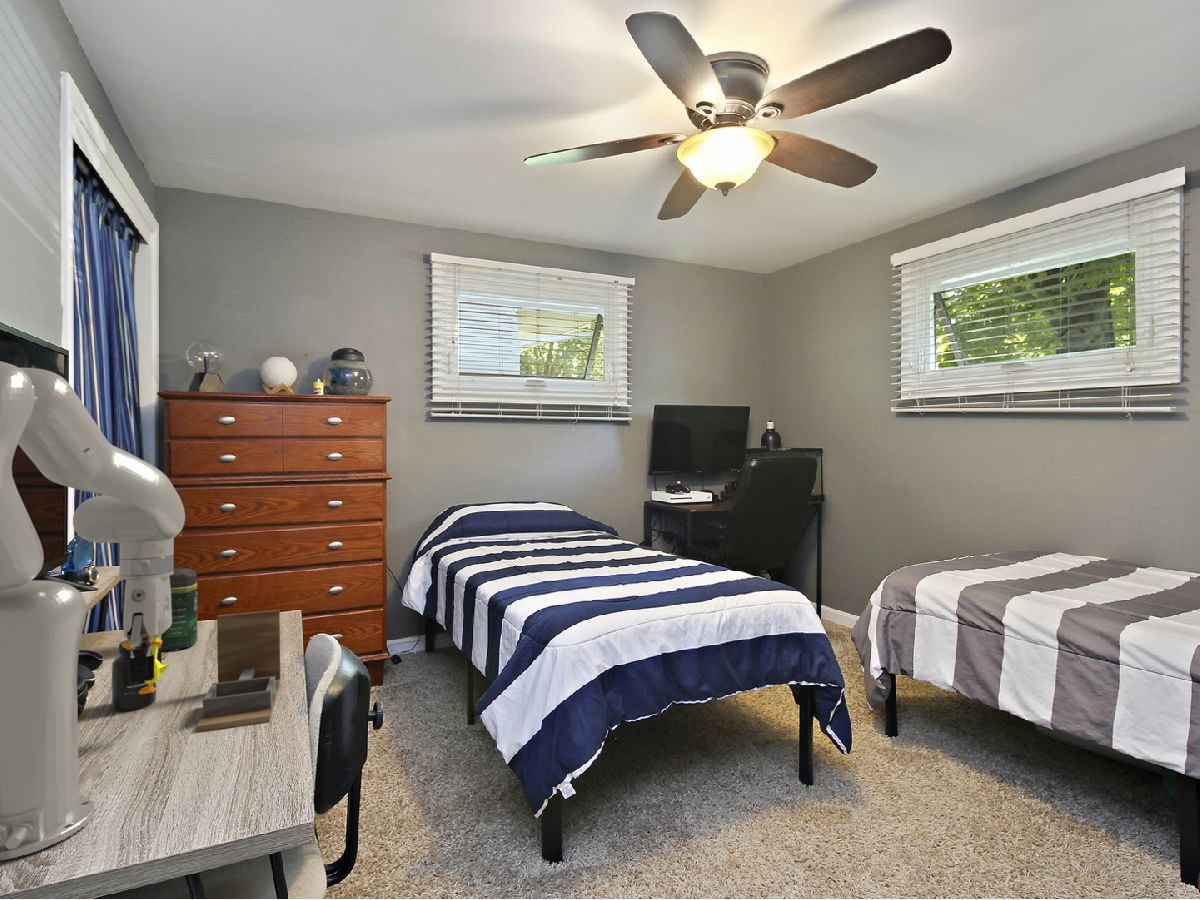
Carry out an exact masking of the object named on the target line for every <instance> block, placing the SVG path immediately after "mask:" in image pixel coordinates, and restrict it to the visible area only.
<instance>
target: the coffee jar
mask: <svg viewBox="0 0 1200 900" xmlns="http://www.w3.org/2000/svg"><path fill="white" fill-rule="evenodd" d="M173 571H174V574H172V575H169V578H170V587H171V607H172V625H171V626H170V627H169V628H168V629H167V630H166V631H165V632H164V633H163V634H161V640H162V644H161V648H162V650H161V651H163V650H164V651H170V650H172V651H177V650H176V649H180V650H181V649H185V648H189V647H188V646H191V647H193V646H194V645H195V644H196V642H197V641H198V573H197V572H196V571H195V570H193V569H192V568H186V567H183V568H174V570H173ZM193 644H194V645H193ZM192 645H193V646H192Z"/></svg>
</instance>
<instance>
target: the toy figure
mask: <svg viewBox="0 0 1200 900" xmlns="http://www.w3.org/2000/svg"><path fill="white" fill-rule="evenodd" d="M148 636H149V634H144V637H148ZM144 642H145V643H146V644H147V641H143V642H142V643H144ZM161 644H162V640H160V639H159V637H156V638H155V637H154V635H153V646H152V655H154V678H153V679H152V680H149V681H145V683H146V684H148V687H144V688H142V689H141V690H140V691H139V694H146V693H152V692H154V691H155V690H156V691H157V688H156V689H155V688H154V687H153V683H155V682H156V683H157V682H159V679H160V678H161V677H162V676H163V674H164V672H165V670H166V669H167V668H168V667H169V666H170V663H166V664H162V662H161V663H160V662H159V661H158V660H157V654H158V648H159V645H161ZM122 646H123V647H124V648H126V649H127V650H130V649H131V647H130V641H128V642H125V643H123V644H122Z"/></svg>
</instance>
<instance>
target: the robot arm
mask: <svg viewBox="0 0 1200 900" xmlns="http://www.w3.org/2000/svg"><path fill="white" fill-rule="evenodd" d="M18 446H19V447H20V448H21V450H22V451H23V452H24V453H25V454H26V455H27V457H28V458H29V460H31V462H32V463H33V464H34V465H35V467H36V468H37V469H38V470H39V472H41V474H42V475H43V476H44V477H45V478H46V479H48V480H49V481H51V482H53V483H56V484H58V485H61V486H65V487H67V488H71V489H75V490H78V491H83V492H86V493H92V494H97V496H93V497H89V498H87V499H86V500H84V501H83V502H81V503H80V504H79V505H78V507H76V509H75V511H74V513H73V516H72V524H73V525H72V526H73V529H74V531H75V533H76V534H77V535H78V536H79V537H80V538H81V539H83V540H85V541H87V542H91V543H94V544H95V543H96V544H111V543H112V544H113V543H114V544H115V543H116V544H117V543H118V544H119V571H118V572H119V575H118V577H119V580H125V586H124V599H123V620H122V622H123V623H122V624H123V625H122V626H123V628H122V629H123V637H124V638H125V639H126V640H130V647H131V662H130V681H131V682H140V681H149V680H152V679H153V678H154V655H152V646H153V635H154V637H155V638H156V637H159V639H160V640H161V634H163V633H164V632H165V631H166V630H167V629H168V628H169V627H170V626H171V625H172V607H171V587H170V578H169V575H172V574H174V571H173V570H174V569H175V568H174V565H175V564H174V557H175V556H174V549H175V546H174V545H175V544H174V543H175V542H174V540H175V539H174V538H176V536H178V535H179V534H180V533H181V532H182V530H183V528H184V526H185V522H186V512H185V508H184V504H183V501H182V500H181V497H180V495H179V494H178V492H177V490H176V488H175V487H174V485H173V483H172V482H171V479H169V478H168V476H167V475H166V474H165V473H164V472H162V471H161V470H160V469H158V468H157V467H156V466H154V465H152V464H151V463H149V462H147V461H145V460H144V459H143V460H142V459H141V458H139V457H137V455H134V454H131V453H130V452H128V451H126V450H124V449H122V448H119V447H118V446H115V445H113V444H111V443H110V442H109V441H108V440H107V438H106V436H105V435H104V433H103V431H102V430H101V429H100V428H99V425H97V423H96V421H95V420H94V418H93V417H92V416H91V413H89V411H88V409H87V408H86V406H85V405H84V404H83V402H82V401H81V399H80V397H79V396H78V394H77V393H76V392H75V390H74V388H73V387H72V385H71V384H70V383H69V382H68V381H67V380H66V379H65V378H64V377H63V376H61V375H60V374H57V373H56V372H53V371H50V370H46V369H42V368H35V367H33V368H32V367H18V366H16V365H14V364H11V363H8V362H4V361H0V861H6V860H7V861H8V860H10V859H15V858H19V856H20V857H23V855H24V856H27V855H30V854H33V853H36V852H38V851H42V850H44V848H45V849H47V848H49V847H51V846H50V845H51V844H54V845H56V844H58V843H60V842H62V841H64V840H66V839H68V838H70V837H71V836H73V835H74V833H75V834H76V833H78V832H79V831H80V830H82V829H83V828H84V827H85V826H86V825H88V824H89V822H90V821H91V820H92V818H93V817H94V816H95V815H94V814H95V804H94V801H93V800H91V799H90V798H88V797H84V796H81V795H80V791H79V790H80V789H79V788H80V787H79V785H80V783H79V728H78V727H79V726H78V725H79V723H78V721H79V719H78V715H79V714H78V668H79V667H78V666H79V654H80V647H81V642H82V641H81V640H82V637H83V633H84V632H83V631H84V628H85V623H86V616H87V604H86V599H85V598H84V595H83V594H82V593H81V591H79V590H78V589H77V588H76V587H74V586H72V585H70V584H68V583H65V582H60V581H53V580H34V579H35V578H36V577H37V576H38V575H39V574H40V572H41V571H42V569H43V566H44V560H45V558H44V557H45V556H44V550H43V546H42V543H41V540H40V537H39V535H38V532H37V531H36V528H35V526H34V524H33V521H32V519H31V518H30V514H29V512H28V511H27V509H26V506H25V504H24V502H23V500H22V497H21V495H20V493H19V490H18V488H17V485H16V483H15V479H14V477H13V470H12V468H13V459H14V456H15V454H16V450H17V447H18ZM144 634H149V636H148V637H144ZM143 641H147V644H146V643H145V642H144V643H142V642H143ZM162 651H163V650H162V648H161V645H159V648H158V654H157V660H158V661H159V662H160V663H161V664H162ZM82 827H83V828H82ZM81 828H82V829H81ZM78 830H79V831H78ZM77 831H78V832H77ZM69 836H70V837H69ZM67 837H68V838H67ZM61 840H62V841H61ZM59 841H60V842H59ZM57 842H58V843H57ZM55 843H56V844H55ZM48 846H49V847H48ZM46 847H47V848H46ZM41 849H42V850H41Z"/></svg>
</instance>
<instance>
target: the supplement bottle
mask: <svg viewBox="0 0 1200 900" xmlns="http://www.w3.org/2000/svg"><path fill="white" fill-rule="evenodd" d="M128 641H130V640H128V639H126V640H123V641H120V642H119V644H118V655H119V656H118V657H116V658H115V659H114V660H113V662H112V663H111V708H112V709H113V710H115V711H119V712H127V711H128V712H131V711H135V710H141V709H144V708H146V707H149V706H150V705H153V704H154V702H155V701H156V700H157V682H155V683H153V687H154V688H155V689H156V690H155V691H154V692H152V693H146V694H139V691H140V690H141V689H142V688H144V687H148V684H146V683H145V681H140V682H131V681H130V662H131V649H130V650H127V649H126V648H124V647H123V646H122V644H123V643H125V642H128Z"/></svg>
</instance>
